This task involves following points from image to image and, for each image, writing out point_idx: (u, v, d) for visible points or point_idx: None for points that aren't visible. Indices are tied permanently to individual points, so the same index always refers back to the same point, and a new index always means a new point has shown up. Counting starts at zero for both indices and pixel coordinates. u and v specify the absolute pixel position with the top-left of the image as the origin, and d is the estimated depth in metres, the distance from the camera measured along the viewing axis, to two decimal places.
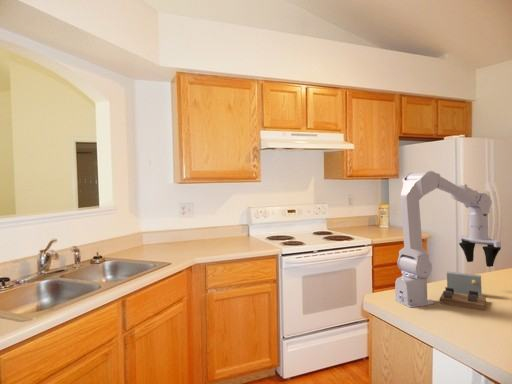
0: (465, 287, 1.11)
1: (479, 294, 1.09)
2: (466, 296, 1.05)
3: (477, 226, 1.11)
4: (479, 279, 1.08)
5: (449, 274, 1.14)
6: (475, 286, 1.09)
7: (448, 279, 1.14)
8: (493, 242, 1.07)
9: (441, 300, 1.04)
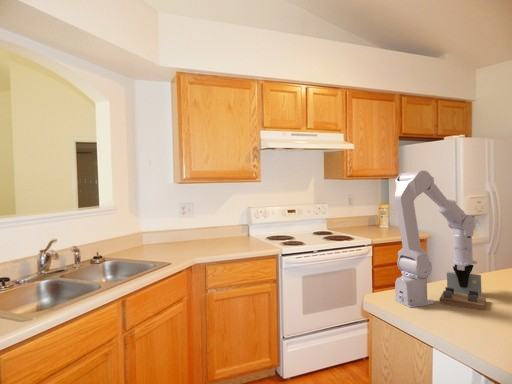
0: None
1: (479, 294, 1.09)
2: (466, 296, 1.05)
3: (461, 248, 1.10)
4: (479, 279, 1.08)
5: (449, 274, 1.14)
6: (475, 286, 1.09)
7: (448, 279, 1.14)
8: (457, 264, 1.08)
9: (441, 300, 1.04)
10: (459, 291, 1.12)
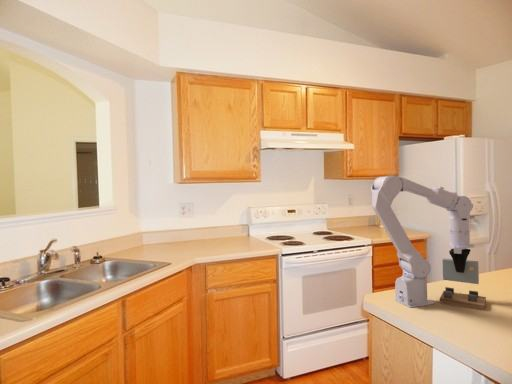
0: (462, 273, 1.06)
1: (476, 281, 1.03)
2: (466, 296, 1.05)
3: (455, 231, 1.05)
4: (476, 265, 1.03)
5: (445, 261, 1.08)
6: (472, 273, 1.04)
7: (444, 266, 1.09)
8: (453, 248, 1.02)
9: (441, 300, 1.04)
10: (455, 278, 1.07)
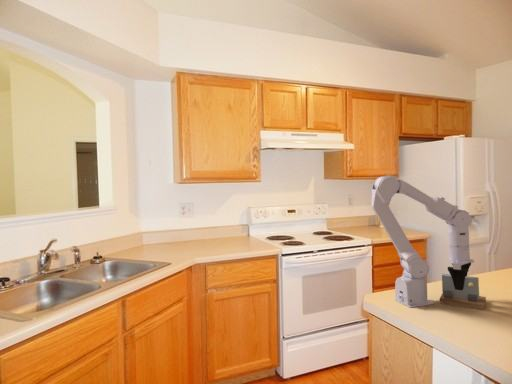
0: (461, 290, 1.03)
1: None
2: None
3: (453, 245, 1.03)
4: (476, 282, 1.01)
5: (444, 276, 1.06)
6: (472, 289, 1.01)
7: (443, 282, 1.06)
8: (453, 263, 1.00)
9: (441, 300, 1.04)
10: (455, 295, 1.04)
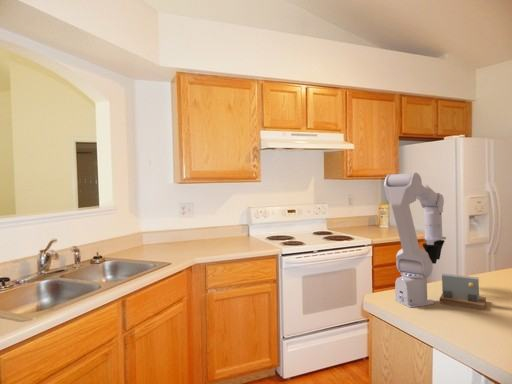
0: (461, 290, 1.03)
1: None
2: None
3: (435, 225, 1.16)
4: (476, 282, 1.01)
5: (444, 276, 1.06)
6: (472, 289, 1.01)
7: (443, 282, 1.06)
8: (427, 240, 1.14)
9: (441, 300, 1.04)
10: (455, 295, 1.04)
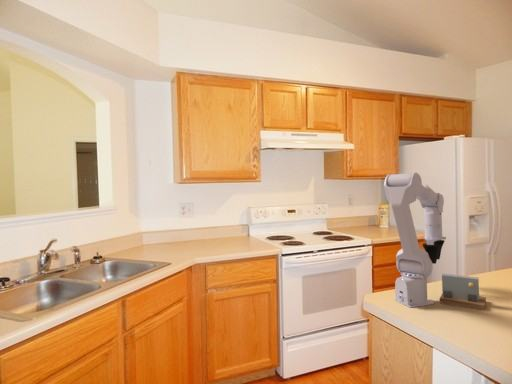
0: (461, 290, 1.03)
1: None
2: None
3: (435, 225, 1.16)
4: (476, 282, 1.01)
5: (444, 276, 1.06)
6: (472, 289, 1.01)
7: (443, 282, 1.06)
8: (427, 240, 1.14)
9: (441, 300, 1.04)
10: (455, 295, 1.04)
